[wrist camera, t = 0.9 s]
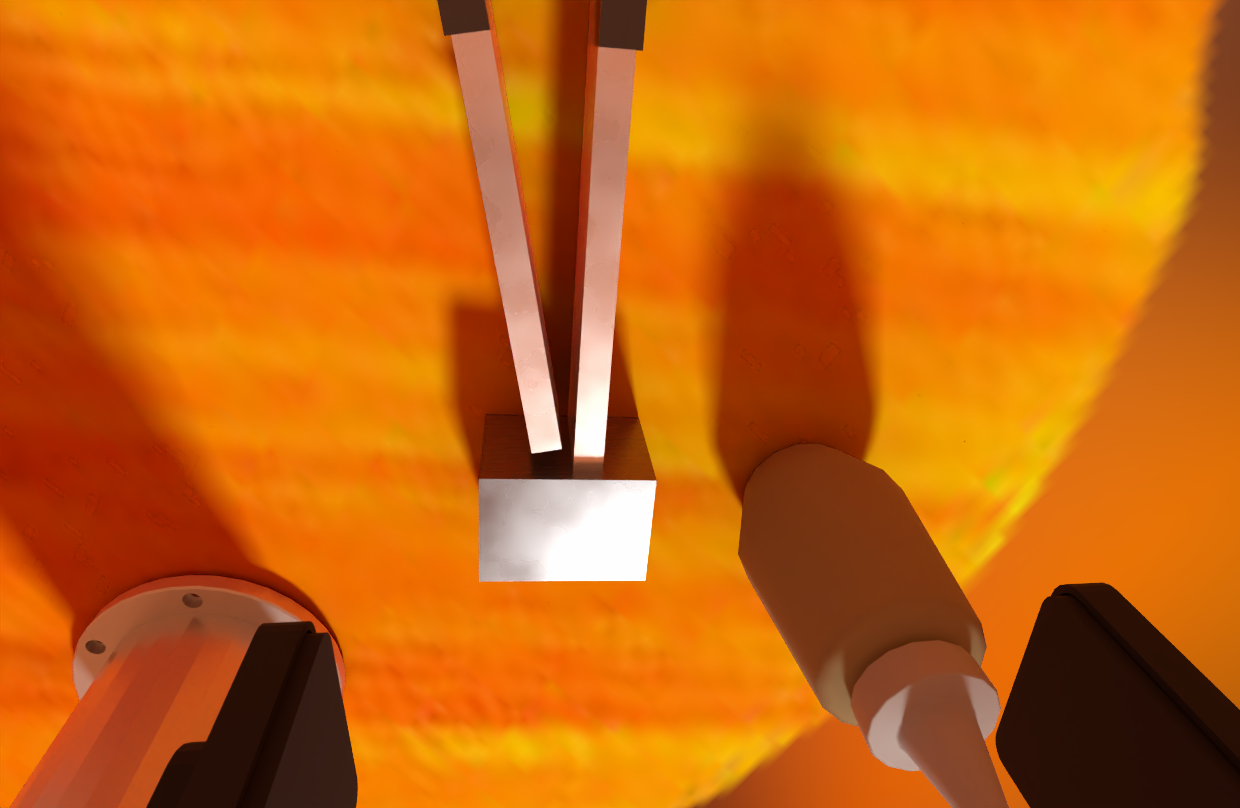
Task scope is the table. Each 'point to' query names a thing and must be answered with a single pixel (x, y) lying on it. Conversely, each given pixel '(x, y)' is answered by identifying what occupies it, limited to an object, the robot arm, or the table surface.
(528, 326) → the tong arm
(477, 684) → the table surface
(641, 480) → the tong base
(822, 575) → the squeeze bottle
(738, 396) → the table surface
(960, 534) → the table surface
